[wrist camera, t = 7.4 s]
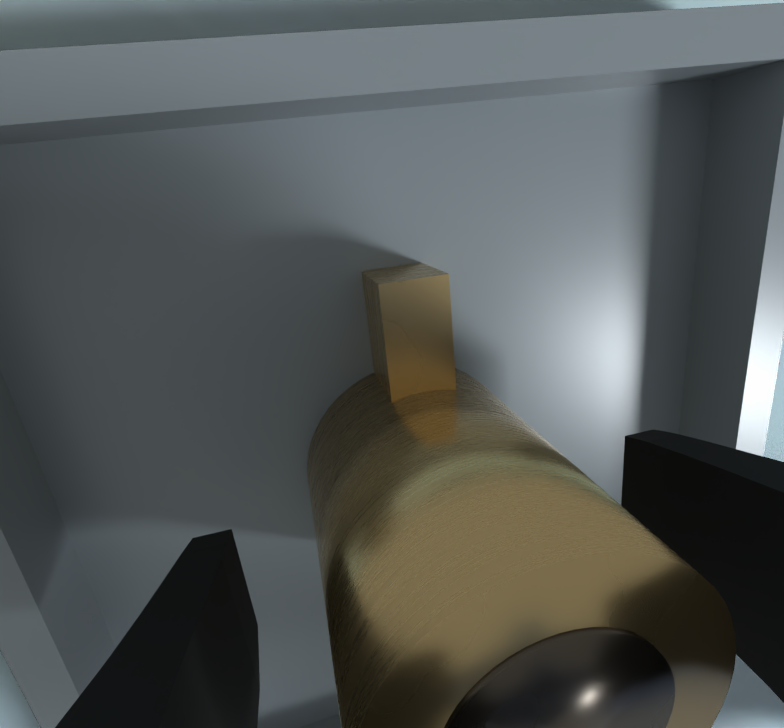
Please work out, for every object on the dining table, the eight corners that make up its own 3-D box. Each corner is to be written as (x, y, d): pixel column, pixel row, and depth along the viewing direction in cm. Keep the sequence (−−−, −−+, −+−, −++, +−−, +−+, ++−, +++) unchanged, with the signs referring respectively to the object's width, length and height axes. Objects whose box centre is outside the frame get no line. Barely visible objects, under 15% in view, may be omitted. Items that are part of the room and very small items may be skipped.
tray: (717, 41, 10) (839, -1, 8) (662, 606, 16) (727, 672, 13) (-137, 107, 8) (-305, 69, 5) (147, 766, 13) (122, 883, 11)
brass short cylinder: (509, 521, 12) (717, 801, 6) (324, 567, 11) (378, 936, 6) (502, 250, 10) (810, 318, 4) (270, 284, 9) (270, 421, 3)
